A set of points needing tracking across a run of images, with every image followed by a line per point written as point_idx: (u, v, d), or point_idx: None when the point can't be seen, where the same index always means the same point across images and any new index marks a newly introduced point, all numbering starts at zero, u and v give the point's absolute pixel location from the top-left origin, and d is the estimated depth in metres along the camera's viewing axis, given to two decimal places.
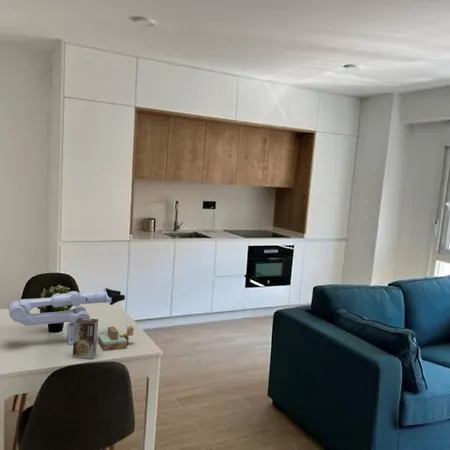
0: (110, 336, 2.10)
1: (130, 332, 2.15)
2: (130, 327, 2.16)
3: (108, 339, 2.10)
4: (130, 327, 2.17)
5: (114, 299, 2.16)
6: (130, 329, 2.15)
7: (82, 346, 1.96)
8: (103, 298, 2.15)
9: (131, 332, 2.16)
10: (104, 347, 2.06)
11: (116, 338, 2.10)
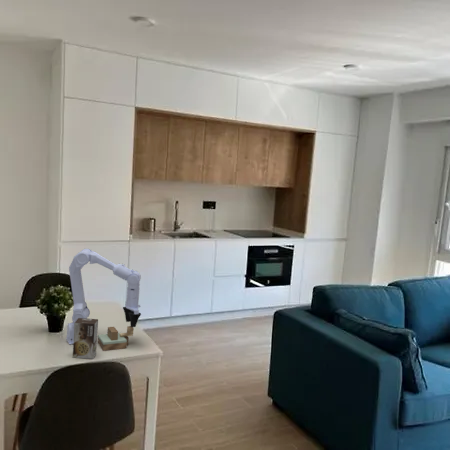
0: (110, 336, 2.10)
1: (130, 332, 2.15)
2: (130, 327, 2.16)
3: (108, 339, 2.10)
4: (130, 327, 2.17)
5: (133, 316, 2.12)
6: (130, 329, 2.15)
7: (82, 346, 1.96)
8: (133, 305, 2.13)
9: (131, 332, 2.16)
10: (104, 347, 2.06)
11: (116, 338, 2.10)
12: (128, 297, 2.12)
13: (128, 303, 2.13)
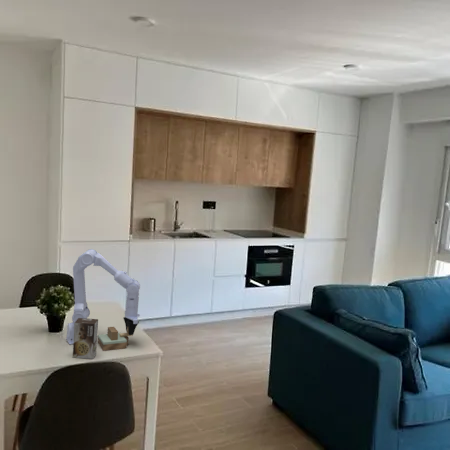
0: (110, 336, 2.10)
1: None
2: None
3: (108, 339, 2.10)
4: None
5: (131, 325, 2.14)
6: None
7: (82, 346, 1.96)
8: (133, 315, 2.13)
9: None
10: (104, 347, 2.06)
11: (116, 338, 2.10)
12: (127, 306, 2.13)
13: (127, 312, 2.13)
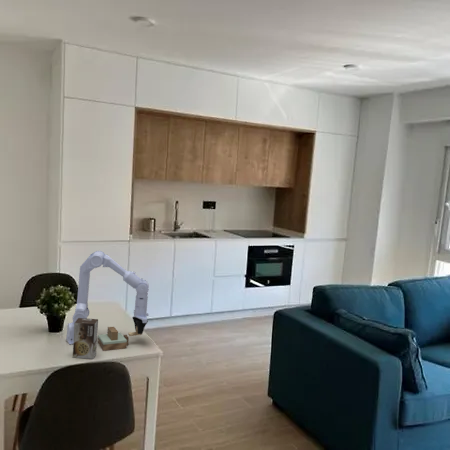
0: (110, 336, 2.10)
1: None
2: None
3: (108, 339, 2.10)
4: None
5: (140, 324, 2.16)
6: None
7: (82, 346, 1.96)
8: (142, 314, 2.15)
9: None
10: (104, 347, 2.06)
11: (116, 338, 2.10)
12: (136, 306, 2.15)
13: (136, 312, 2.15)
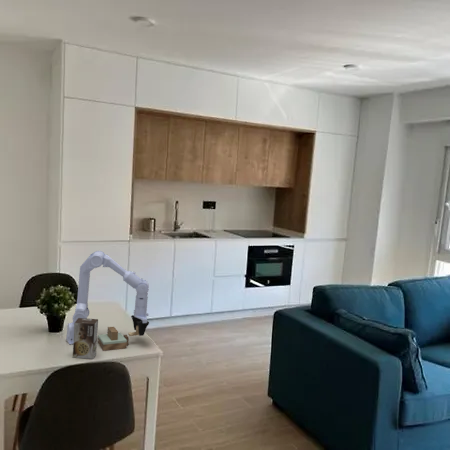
0: (110, 336, 2.10)
1: None
2: None
3: (108, 339, 2.10)
4: None
5: (141, 325, 2.15)
6: None
7: (82, 346, 1.96)
8: (142, 314, 2.15)
9: None
10: (104, 347, 2.06)
11: (116, 338, 2.10)
12: (136, 306, 2.15)
13: (136, 312, 2.15)
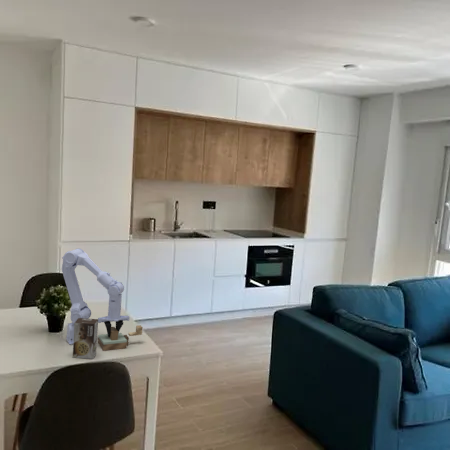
0: (110, 336, 2.10)
1: (139, 331, 2.17)
2: (139, 326, 2.18)
3: (108, 339, 2.10)
4: (139, 326, 2.19)
5: None
6: (139, 328, 2.17)
7: (82, 346, 1.96)
8: (108, 316, 2.10)
9: (140, 331, 2.18)
10: (104, 347, 2.06)
11: (116, 338, 2.10)
12: None
13: None
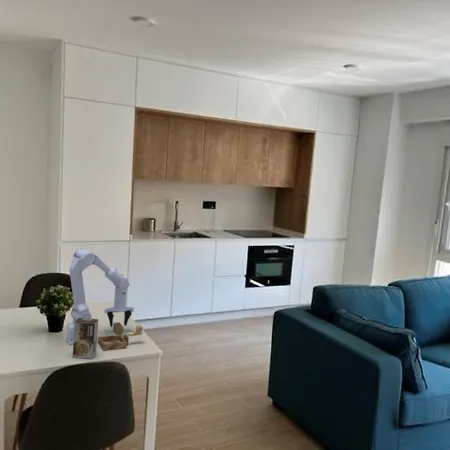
0: (115, 331, 2.27)
1: (139, 331, 2.17)
2: (139, 326, 2.18)
3: (114, 334, 2.27)
4: (139, 326, 2.19)
5: None
6: (139, 328, 2.17)
7: (82, 346, 1.96)
8: (114, 307, 2.27)
9: (140, 331, 2.18)
10: (104, 347, 2.06)
11: (121, 333, 2.27)
12: None
13: None
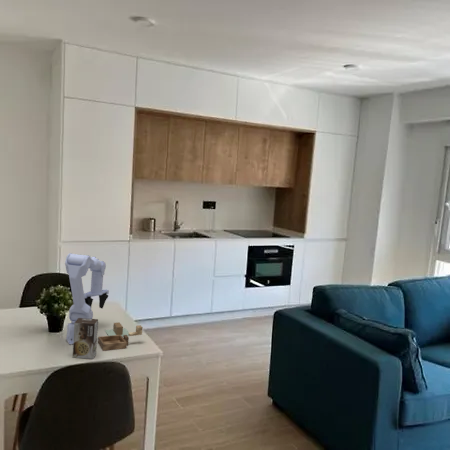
0: (115, 331, 2.27)
1: (139, 331, 2.17)
2: (139, 326, 2.18)
3: (114, 334, 2.27)
4: (139, 326, 2.19)
5: (88, 300, 2.28)
6: (139, 328, 2.17)
7: (82, 346, 1.96)
8: (91, 291, 2.28)
9: (140, 331, 2.18)
10: (104, 347, 2.06)
11: (121, 333, 2.27)
12: None
13: None
